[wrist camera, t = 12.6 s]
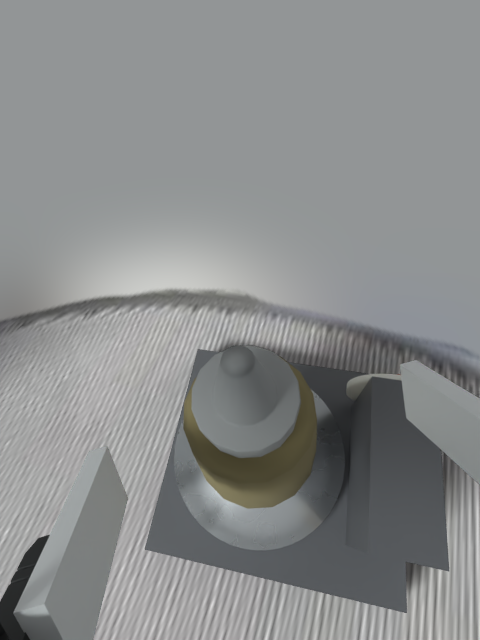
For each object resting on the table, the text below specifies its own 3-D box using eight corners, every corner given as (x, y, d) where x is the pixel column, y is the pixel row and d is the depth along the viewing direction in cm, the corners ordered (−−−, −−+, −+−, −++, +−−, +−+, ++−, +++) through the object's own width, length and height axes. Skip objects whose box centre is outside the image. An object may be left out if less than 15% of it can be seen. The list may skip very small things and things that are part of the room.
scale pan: (156, 527, 27) (152, 527, 26) (199, 364, 33) (196, 360, 32) (337, 569, 25) (339, 571, 24) (346, 386, 31) (348, 382, 30)
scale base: (156, 546, 29) (105, 558, 20) (203, 361, 36) (181, 311, 27) (408, 607, 26) (477, 652, 17) (403, 391, 33) (449, 345, 24)
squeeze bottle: (334, 462, 27) (420, 381, 11) (247, 537, 25) (203, 567, 9) (266, 380, 30) (259, 230, 15) (185, 440, 28) (78, 343, 13)
